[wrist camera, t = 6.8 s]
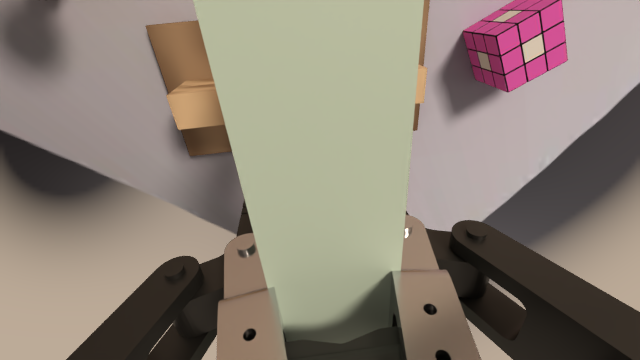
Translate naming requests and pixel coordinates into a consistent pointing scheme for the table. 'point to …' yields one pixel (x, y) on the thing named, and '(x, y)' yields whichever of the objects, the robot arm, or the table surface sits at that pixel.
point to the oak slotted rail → (199, 88)
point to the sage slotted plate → (320, 147)
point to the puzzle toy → (517, 43)
